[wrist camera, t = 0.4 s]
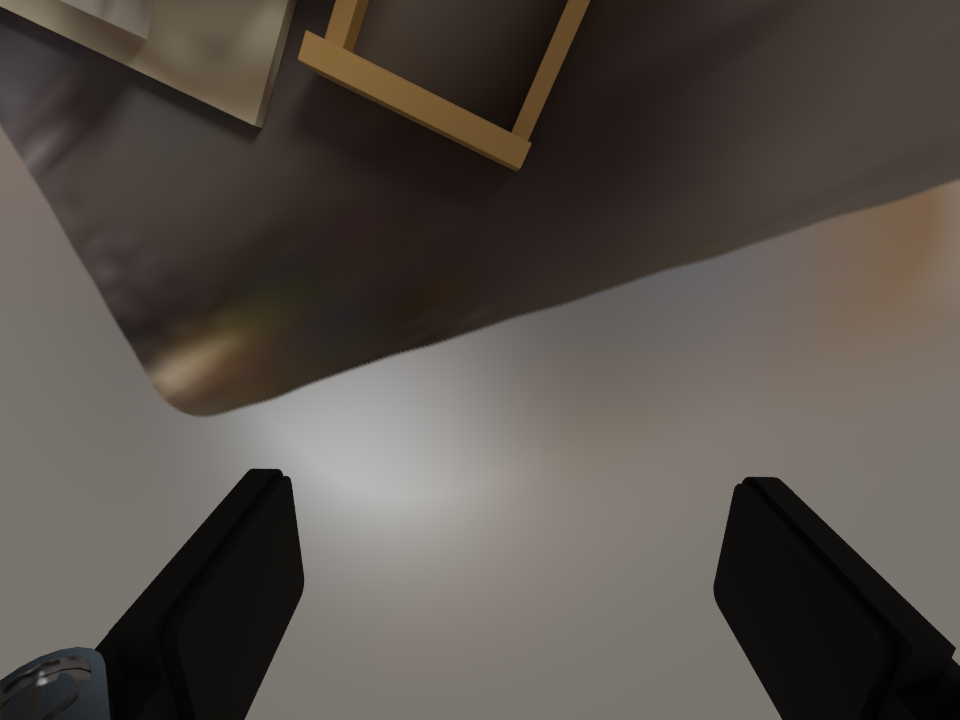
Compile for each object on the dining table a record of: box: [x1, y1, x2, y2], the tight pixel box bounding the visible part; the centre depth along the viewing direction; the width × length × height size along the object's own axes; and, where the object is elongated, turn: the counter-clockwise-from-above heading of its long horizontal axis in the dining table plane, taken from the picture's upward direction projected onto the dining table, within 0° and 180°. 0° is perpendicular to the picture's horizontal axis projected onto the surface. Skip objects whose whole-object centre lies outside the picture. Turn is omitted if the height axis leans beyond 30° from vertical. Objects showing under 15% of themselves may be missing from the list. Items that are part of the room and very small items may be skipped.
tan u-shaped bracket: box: [298, 0, 590, 172], centre depth 29 cm, size 12×14×4 cm
